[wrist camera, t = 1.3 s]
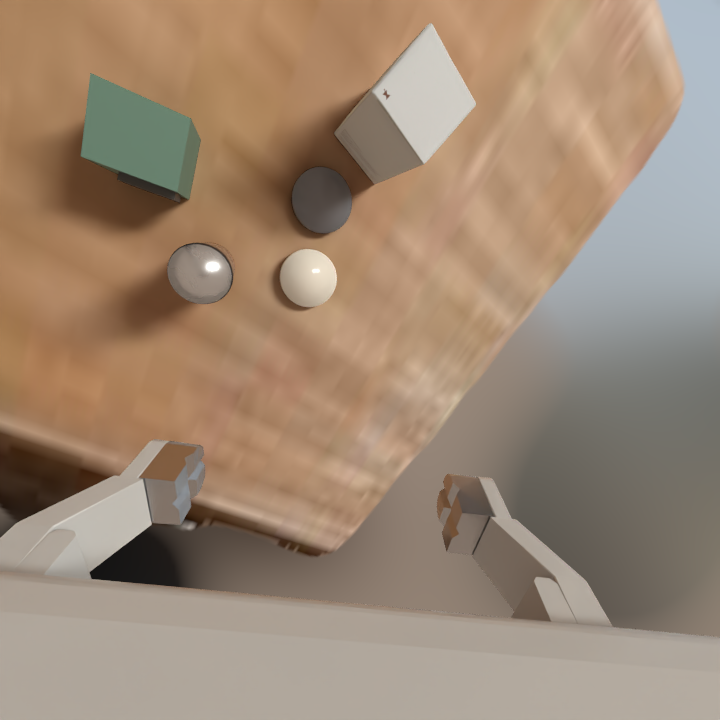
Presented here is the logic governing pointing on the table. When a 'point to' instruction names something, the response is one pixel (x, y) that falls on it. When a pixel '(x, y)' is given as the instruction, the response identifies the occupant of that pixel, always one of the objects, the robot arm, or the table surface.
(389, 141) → the supplement box
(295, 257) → the cream dome cap
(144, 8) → the table surface
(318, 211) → the disc
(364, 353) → the table surface
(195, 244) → the grey-lidded jar
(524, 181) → the table surface
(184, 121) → the block
